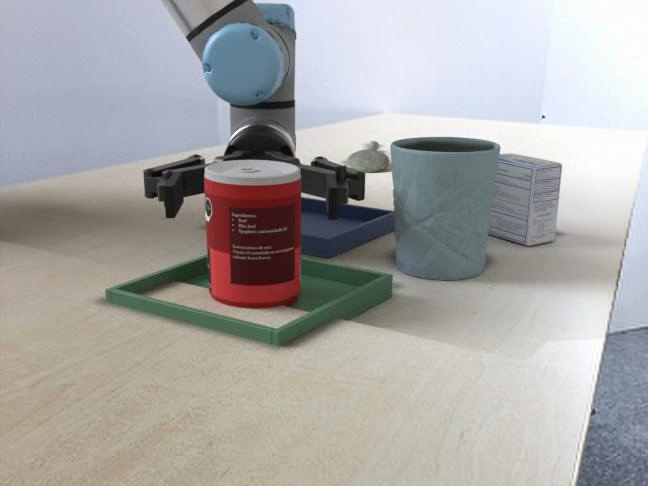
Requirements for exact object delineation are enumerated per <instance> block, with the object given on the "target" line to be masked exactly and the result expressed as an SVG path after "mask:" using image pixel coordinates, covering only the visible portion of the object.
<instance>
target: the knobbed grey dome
mask: <svg viewBox="0 0 648 486" xmlns="http://www.w3.org/2000/svg"><path fill="white" fill-rule="evenodd" d="M379 148H380V144H379V142H378V141H377V140H371V141H370V142H369V143H368V147H367V149H361V150H360V149H359V150H357V151H355V152H352V153H351V154H350V155H348V157H347V165H348V166H349V167H350V168H352V169H355V170H358V171H362V172H364V173H376V172H380V171H383V170H385V169H386V168H387V167H388V166H389V164H390V157H389V156H388V155H387V154H385V153H384V152H382V151H380V150H378V149H379Z"/></svg>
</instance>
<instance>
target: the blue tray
mask: <svg viewBox="0 0 648 486" xmlns="http://www.w3.org/2000/svg"><path fill="white" fill-rule="evenodd" d="M394 212H395V211H394V210H390V209H384V208H378V207H372V206H371V207H370V206H363V205H357V204H350V203H347V204H338V207H337V220H328V215H327V209H326V199H325V200H324V199H319V198H313V197H312V198H311V197H305V196H301V255H302V254H303V255H309V256H314V257H318V258H324V259H330V258H332V257H334V256H337V255H339V254H341V253H344V252H346V251H349V250H352V249H354V248H356V247H358V246H361V245H363V244H366V243H368V242H371V241H373V240H376V239H377V238H379V237H382V236H385V235H387V234H390V233H392V232H395V226H394V224H395V218H394Z"/></svg>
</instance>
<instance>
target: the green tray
mask: <svg viewBox="0 0 648 486" xmlns="http://www.w3.org/2000/svg"><path fill="white" fill-rule="evenodd" d="M393 279H394V274H392V273H386V272H381V271H376V270H372V269H367V268H361V267H356V266H351V265H347V264H341V263H336V262H331V261H326V260H325V261H324V260H320V259H315V258H309V257H304V256H301V288H300V293H299V296H298V299H297V301H296V302H295V303H294V304H292V305H291V306H289V307H288V308H290V309H294V310H299V311H304V312H307V313H306V314H303V315H301V316H299V317H297V318H295V319H293V320H291V321H289V322H287V323H285V324H283V325H281V326H279V327H277V328H276V327H272V326H268V325H265V324H260V323H255V322H252V321H248V320H244V319H239V318H235V317H233V316H232V317H231V316H227V315H223V314H219V313H215V312H211V311H207V310H204V309H199V308H194V307H190V306H187V305H183V304H178V303H175V302H171V301H167V300H162V299H160V298H159V299H158V298H154V297H151V296H147V295H142V294H140V293H143V292H146V291H149V290H151V289H155V288H156V287H159V286H160V287H161V286H162V285H165V284H168V283H171V282H176V283H177V282H178V283H182V284H186V285H190V286H195V287H200V288H204V289H208V290H209V285H208V261H207V254H204V255H201V256H199V257H195V258H192V259H189V260H186V261H184V262H181V263H177V264H175V265H172V266H169V267H166V268H163V269H160V270H158V271H154V272H151V273H149V274H145V275H143V276H139V277H136V278H134V279H131V280H128V281H125V282H122V283H120V284H117V285H114V286H111V287H108V288H105V290H104V291H105V292H104V293H105V302H106V303H110V304H113V305H117V306H121V307H125V308H129V309H132V310H136V311H141V312H144V313H148V314H151V315H157V316H159V317H164V318H167V319H171V320H175V321H179V322H183V323H187V324H191V325H195V326H199V327H202V328H205V329H210V330H213V331H218V332H221V333H225V334H229V335H233V336H236V337H241V338H245V339H249V340H252V341H256V342H260V343H265V344H267V345H273V346H276V347H281V346H282V345H284V344H286V343H288V342H290V341H291V340H293V339H295V338H297V337H299V336H302V335H304V334H305V333H307V332H309V331H311V330H313V329H315V328H316V327H319V326H320V325H322V324H324V323H325V322H328V321H330V320H331V319H333V318H334V319H339V320H343V321H349V320H351V319H352V318H354V317H356V316H358V315H360V314H362V313H364V312H366V311H368V310H369V309H371V308H373V307H375V306H376V305H378V304H380V303H382V302H384V301H385V300H387V299H389V298H391V297H392V296H393V281H394V280H393Z"/></svg>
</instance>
